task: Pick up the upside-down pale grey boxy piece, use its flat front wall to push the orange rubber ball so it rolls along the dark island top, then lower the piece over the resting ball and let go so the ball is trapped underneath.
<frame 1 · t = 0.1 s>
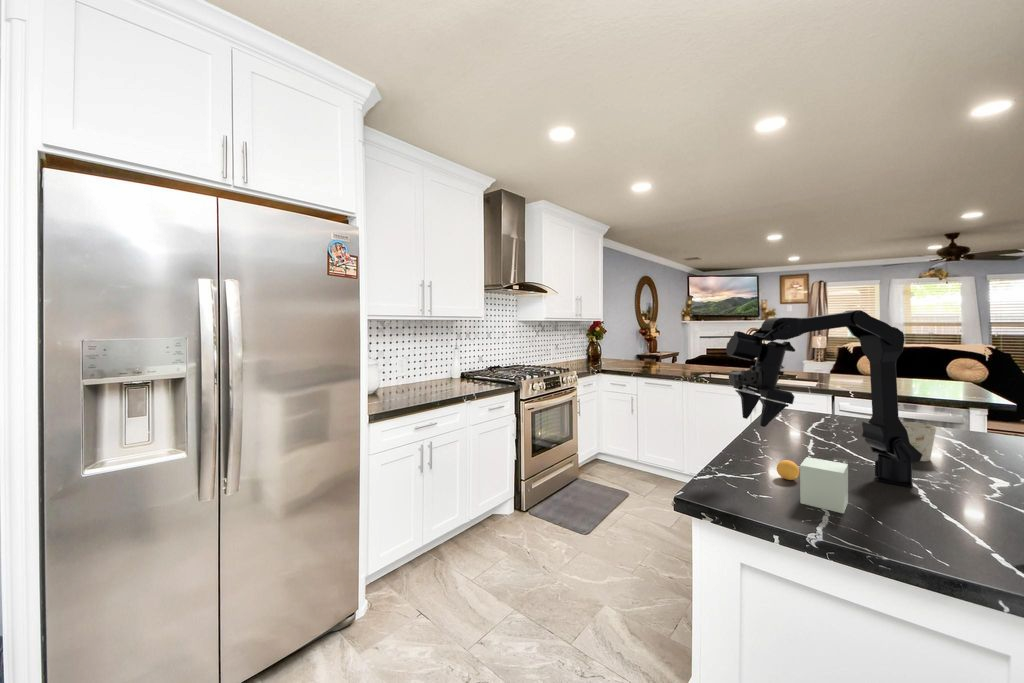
hand: (753, 422, 105), 15 cm above the worktop, tool pointing down, fingers open, 9 cm apart
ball: (787, 469, 106), on the worktop
pale grey boxy piece: (824, 502, 91), on the worktop
mug: (907, 458, 119), on the worktop
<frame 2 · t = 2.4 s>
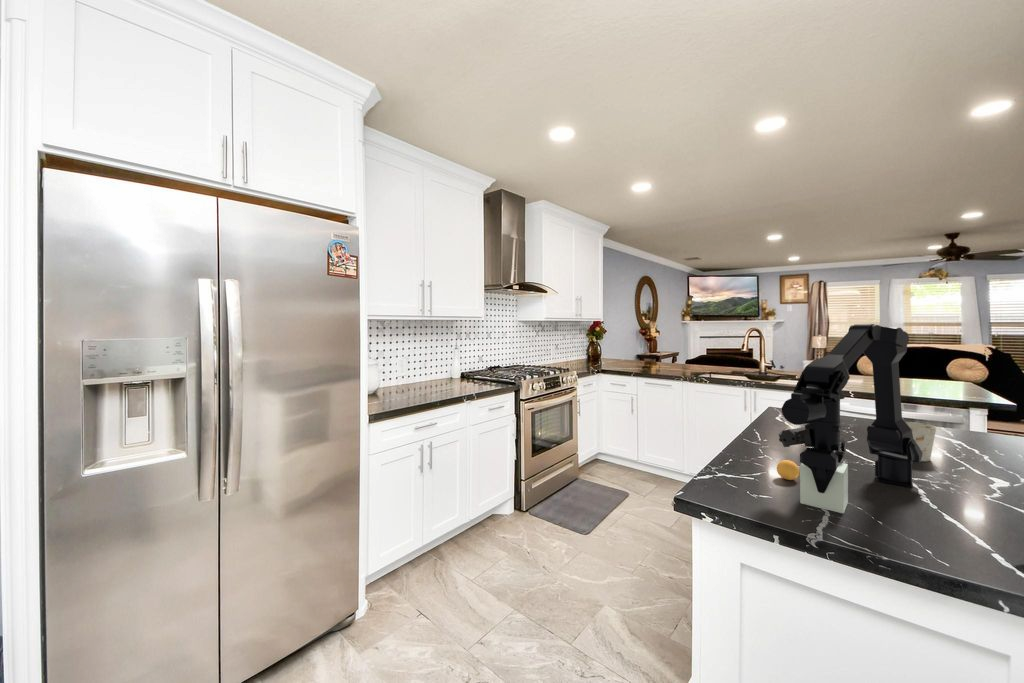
hand: (824, 487, 91), 4 cm above the worktop, tool pointing down, fingers closed on pale grey boxy piece, 8 cm apart
pale grey boxy piece: (824, 502, 91), on the worktop, touching gripper
everything else where it was.
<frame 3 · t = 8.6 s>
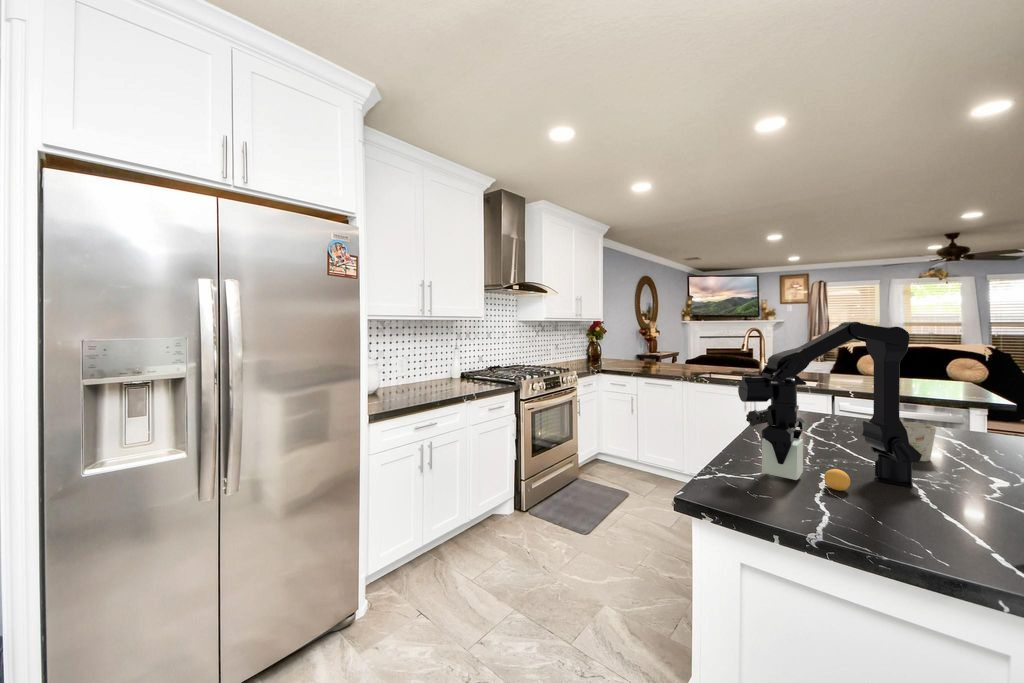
hand: (784, 460, 106), 5 cm above the worktop, tool pointing down, fingers closed on pale grey boxy piece, 8 cm apart
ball: (837, 479, 98), on the worktop
pale grey boxy piece: (782, 472, 106), point 2 cm above the worktop, touching gripper
everything else where it was.
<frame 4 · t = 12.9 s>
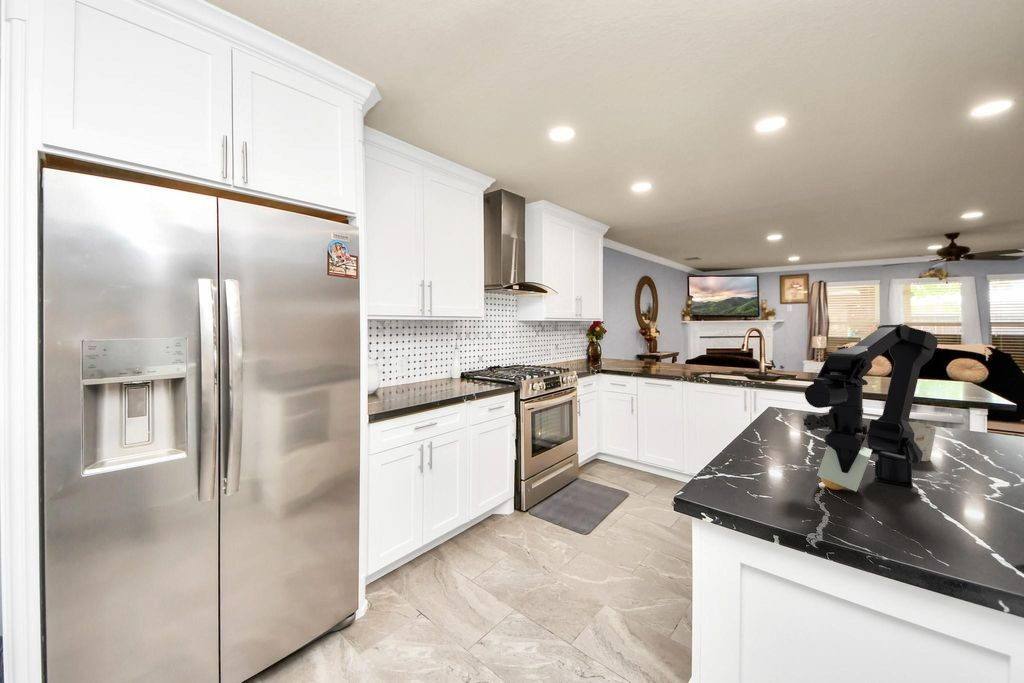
hand: (846, 468, 97), 6 cm above the worktop, tool pointing down, fingers closed on pale grey boxy piece, 8 cm apart
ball: (833, 478, 99), on the worktop, touching pale grey boxy piece
pale grey boxy piece: (838, 478, 98), point 3 cm above the worktop, tilted 15°, touching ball, gripper
everything else where it was.
when the fingers open (4 cm above the worktop, at t = 13.8 s): pale grey boxy piece drops 2 cm, on the worktop.
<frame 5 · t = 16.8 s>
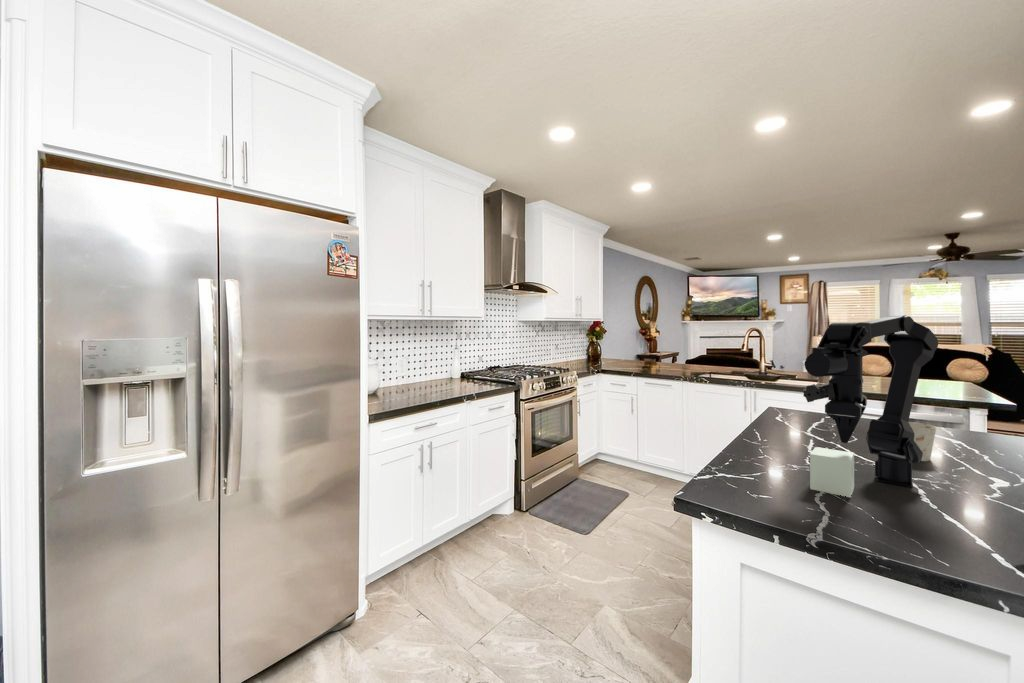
hand: (846, 438, 97), 13 cm above the worktop, tool pointing down, fingers open, 9 cm apart
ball: (832, 478, 99), on the worktop
pale grey boxy piece: (832, 488, 99), on the worktop
everything else where it was.
at the end: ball 0.1 cm from the pale grey boxy piece (horizontally); pale grey boxy piece on the worktop; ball moved 9.2 cm from its start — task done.
